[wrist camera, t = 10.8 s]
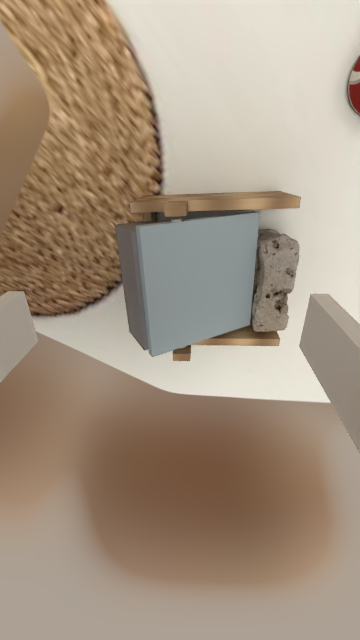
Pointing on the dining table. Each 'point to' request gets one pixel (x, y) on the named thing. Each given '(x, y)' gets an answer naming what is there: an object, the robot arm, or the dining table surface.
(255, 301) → the stone
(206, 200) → the frame
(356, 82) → the soda can
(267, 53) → the dining table surface
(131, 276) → the blue-grey flat square block
